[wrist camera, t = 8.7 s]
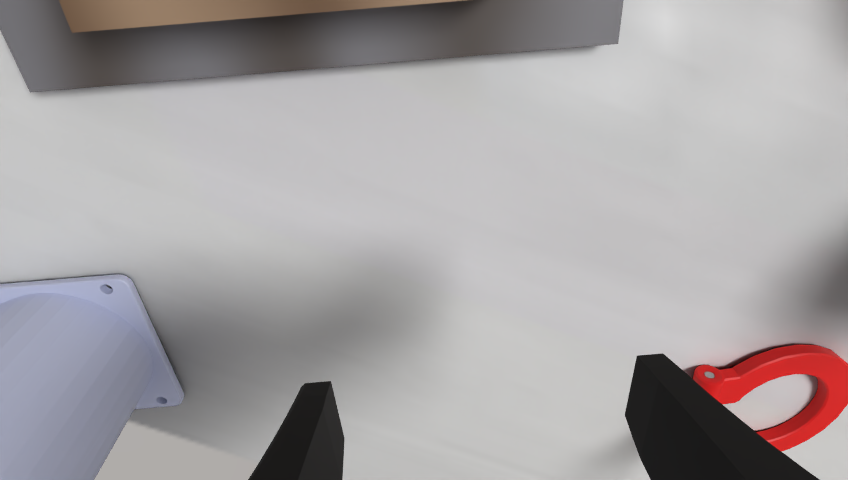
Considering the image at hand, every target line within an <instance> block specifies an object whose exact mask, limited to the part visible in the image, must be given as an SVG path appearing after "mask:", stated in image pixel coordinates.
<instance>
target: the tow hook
mask: <svg viewBox="0 0 848 480" xmlns="http://www.w3.org/2000/svg"><path fill="white" fill-rule="evenodd" d="M792 374H808V375H812V376H815V377H817V379H818V389H817V392H816V394H815V396H814V398H813V399H812V401H811V402H810V403H809V405H808V406H807V407H806V408H804V409H803V410H802V411H801V412H800V413H799V414H797V415H796V416H794V417H793V418H791V419H790V420H788V421H786V422H784V423H782V424H780V425H778V426H776V427H773V428H770V429H767V430H764V431H759V432H756V433H758V434H759V435H760V436H761V437H763V438H764V439H765V440H766V441H768V442H769V443H770V444H772V445H773V446H774V447H776V448H777V449H778V450H780V451H784V450H787V449H790V448H792V447H794V446H796V445H798V444H800V443H802V442H805V441H807V440H808V439H810V438H811V437H813V436H814V435H816V434H817V433H819V432H821V431H822V430H824V429H825V428H826V427H827V426H828V425H829V424H830V423H831V422H833V421H834V420H835V419H836V418H837V417H838V416H839V414H840V413H841V412H842V411H843V409H844V408H845V407H846V406H847V404H848V364H847V363H846V362H845V361H844V360H843V359H842V358H840V357H839V356H838V355H837V354H835V353H834V352H833V351H832V350H830V349H827V348H824V347H820V346H817V345H791V346H786V347H780V348H774V349H772V350H769V351H766V352H763V353H760V354H757V355H755V356H752V357H751V358H749V359H747V360H745V361H743V362H741V363H739V364H738V365H736V366H734V367H733V368H729V369H722V370H719V369H717V368H715V367H713V366H710V365H700V366H698V367H696V369H695V371H694V375H693V380H694V381H695V382H696V383H698V384H699V385H700V386H701V387H702V388H703V389H705V390H706V391H707V392H708V393H709V394H710V395H712V396H713V397H714V398H715V399H716V400H717V401H719V402H720V403H721V404H728V403H735V402H737V401H739V400H740V399H741V398H742V397H743V396H744V395H746V394H747V393H749V392H750V391H751V390H753V389H754V388H756V387H758V386H760V385H762V384H763V383H765V382H767V381H770V380H773V379H776V378H779V377H781V376H786V375H792Z"/></svg>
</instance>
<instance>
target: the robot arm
mask: <svg viewBox="0 0 848 480" xmlns="http://www.w3.org/2000/svg"><path fill="white" fill-rule="evenodd" d="M105 284H106V285H109V286H111V287H112V288H113V289H111V288H108V287H107V286H106V285H105ZM163 397H164V398H163ZM183 398H184V392H183V390H182V388H181V386H180V384H179V382H178V379H177V377H176V375H175V373H174V371H173V368H172V366H171V364H170V362H169V360H168V357H167V355H166V353H165V351H164V349H163V347H162V344H161V342H160V340H159V338H158V336H157V333H156V331H155V329H154V327H153V325H152V322H151V320H150V318H149V316H148V314H147V312H146V309H145V307H144V305H143V303H142V301H141V298H140V296H139V294H138V292H137V290H136V288H135V285H134V283H133V282H132V280H131V279H130V278H128V277H127V276H124V275H120V274H116V275H104V276H92V277H79V278H67V279H55V280H43V281H31V282H19V283H7V284H0V480H94V479H95V477H96V475H97V474H98V472H99V470H100V468H101V467H102V465H103V463H104V461H105V459H106V458H107V456H108V454H109V453H110V451H111V449H112V447H113V445H114V444H115V442H116V440H117V438H118V437H119V435H120V433H121V431H122V429H123V428H124V426H125V424H126V423H127V421H128V419H129V417H130V416H131V414H132V412H133V410H134V409H143V408H155V407H167V406H176V405H179V404H181V403H182V400H183ZM625 417H626V419H627V422H628V425H629V428H630V431H631V434H632V437H633V440H634V442H635V445H636V448H637V451H638V453H639V456H640V458H641V461H642V463H643V465H644V467H645V469H646V471H647V473H648V475H649V477H650V479H651V480H819V479H818V478H816V477H815V476H814V475H812V474H811V473H809V472H808V471H807V470H805V469H804V468H802V467H801V466H800V465H798V464H797V463H796V462H794V461H793V460H792V459H790V458H789V457H788V456H786V455H785V454H784V453H782V452H781V451H780V450H778V449H777V448H776V447H774V446H773V445H772V444H770V443H769V442H768V441H766V440H765V439H764V438H763V437H761V436H760V435H759V434H758V433H756V432H755V431H754V430H753V429H751V428H750V427H749V426H748V425H746V424H745V423H744V422H743V421H741V420H740V419H739V418H738V417H737V416H735V415H734V414H733V413H732V412H730V411H729V410H728V409H727V408H726V407H724V406H723V405H722V404H721V403H720V402H719V401H717V400H716V399H715V398H714V397H713V396H712V395H710V394H709V393H708V392H707V391H706V390H705V389H703V388H702V387H701V386H700V385H699V384H698V383H696V382H695V381H694V380H693V379H692V378H691V377H690V376H688V375H687V374H686V373H685V372H684V371H683V370H682V369H680V368H679V367H678V366H677V365H676V364H675V363H673V362H672V361H671V360H670V359H669V358H668V357H666V356H665V355H664V354H652V355H640V356H637V359H636V363H635V368H634V373H633V378H632V383H631V388H630V393H629V398H628V402H627V407H626V412H625ZM343 456H344V435H343V431H342V427H341V422H340V418H339V414H338V409H337V405H336V401H335V397H334V392H333V388H332V384H331V381H328V382H316V383H305V384H304V385H303V386H302V387H301V389H300V391H299V393H298V395H297V397H296V399H295V401H294V403H293V404H292V406H291V408H290V410H289V412H288V414H287V416H286V418H285V419H284V421H283V423H282V425H281V427H280V428H279V430H278V432H277V434H276V435H275V437H274V439H273V441H272V442H271V444H270V446H269V447H268V449H267V450H266V452H265V454H264V455H263V457H262V459H261V460H260V462H259V464H258V465H257V467H256V469H255V470H254V472H253V473H252V475H251V476H250V478H249V479H248V480H342V474H343Z"/></svg>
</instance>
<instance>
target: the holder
mask: <svg viewBox="0 0 848 480" xmlns="http://www.w3.org/2000/svg"><path fill="white" fill-rule="evenodd" d="M622 7H623V0H0V30H1V32H2V34H3V36H4V38H5V40H6V42H7V45H8V47H9V49H10V51H11V53H12V55H13V57H14V59H15V61H16V64H17V66H18V68H19V70H20V72H21V74H22V76H23V78H24V80H25V83H26V85H27V87H28V89H29V91H30V92H38V91H50V90H62V89H74V88H86V87H99V86H111V85H123V84H135V83H147V82H159V81H171V80H184V79H196V78H208V77H220V76H232V75H244V74H257V73H269V72H281V71H293V70H305V69H317V68H330V67H342V66H354V65H366V64H378V63H390V62H403V61H415V60H427V59H439V58H451V57H463V56H475V55H488V54H500V53H512V52H524V51H536V50H548V49H561V48H573V47H585V46H597V45H609V44H618V40H619V32H620V24H621V15H622Z"/></svg>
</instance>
